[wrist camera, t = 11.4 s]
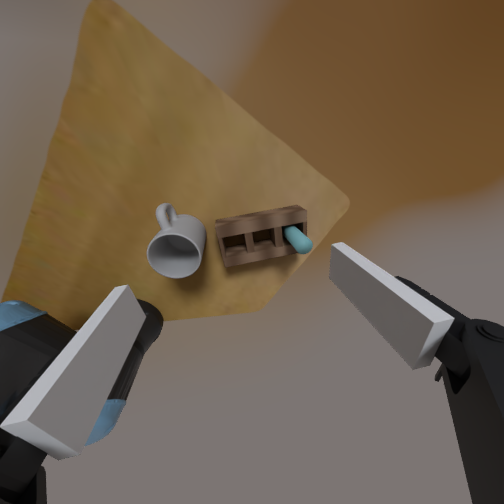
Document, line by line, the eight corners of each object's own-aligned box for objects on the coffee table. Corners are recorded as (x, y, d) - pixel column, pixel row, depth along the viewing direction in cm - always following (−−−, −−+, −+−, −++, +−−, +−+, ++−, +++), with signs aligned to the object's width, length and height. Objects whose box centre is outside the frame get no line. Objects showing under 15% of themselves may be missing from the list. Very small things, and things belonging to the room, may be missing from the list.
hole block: (224, 256, 43) (225, 267, 39) (215, 219, 39) (215, 227, 35) (298, 241, 44) (306, 250, 40) (297, 204, 40) (306, 210, 36)
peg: (279, 233, 43) (296, 255, 33) (278, 221, 41) (296, 240, 32) (291, 231, 43) (312, 252, 33) (291, 219, 42) (313, 237, 32)
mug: (211, 245, 42) (208, 271, 32) (175, 255, 41) (160, 285, 32) (191, 191, 36) (180, 203, 26) (149, 203, 36) (122, 219, 26)
